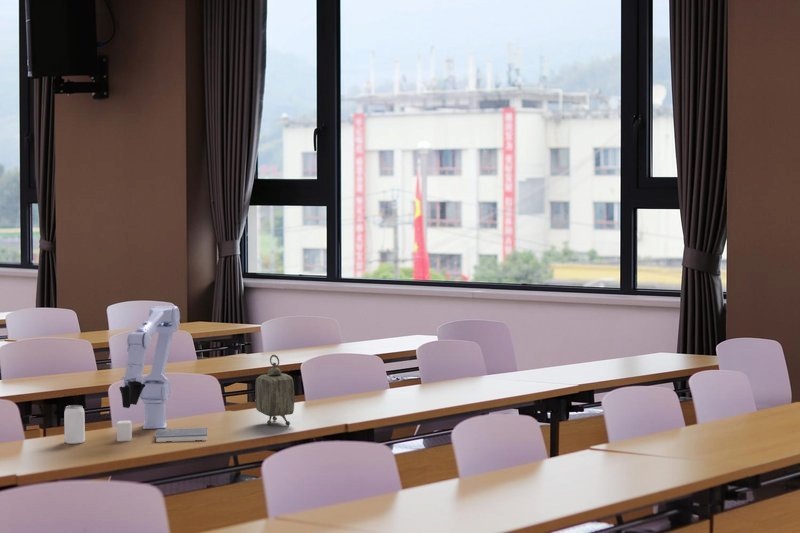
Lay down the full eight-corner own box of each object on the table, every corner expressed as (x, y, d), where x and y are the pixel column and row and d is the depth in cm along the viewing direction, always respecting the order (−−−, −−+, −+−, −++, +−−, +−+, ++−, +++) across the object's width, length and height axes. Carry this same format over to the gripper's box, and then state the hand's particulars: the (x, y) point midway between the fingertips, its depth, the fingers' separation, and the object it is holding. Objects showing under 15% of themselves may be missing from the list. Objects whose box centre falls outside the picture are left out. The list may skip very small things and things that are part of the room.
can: (79, 444, 387) (78, 408, 386) (61, 443, 388) (60, 408, 387) (88, 440, 393) (87, 405, 392) (70, 439, 394) (69, 404, 394)
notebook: (157, 436, 403) (157, 429, 402) (207, 434, 405) (207, 427, 405) (155, 443, 391) (155, 436, 391) (207, 441, 393) (207, 434, 393)
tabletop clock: (294, 426, 417) (294, 356, 415) (271, 429, 412) (270, 358, 410) (276, 419, 429) (276, 351, 427) (254, 422, 424) (253, 353, 423)
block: (118, 438, 397) (117, 420, 396) (131, 438, 398) (131, 420, 397) (117, 441, 392) (116, 423, 392) (130, 440, 393) (130, 423, 393)
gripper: (117, 368, 402) (111, 407, 398) (130, 360, 390) (124, 400, 386) (137, 371, 405) (131, 410, 401) (150, 364, 393) (145, 404, 389)
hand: (129, 406), depth 393 cm, fingers open, 7 cm apart
